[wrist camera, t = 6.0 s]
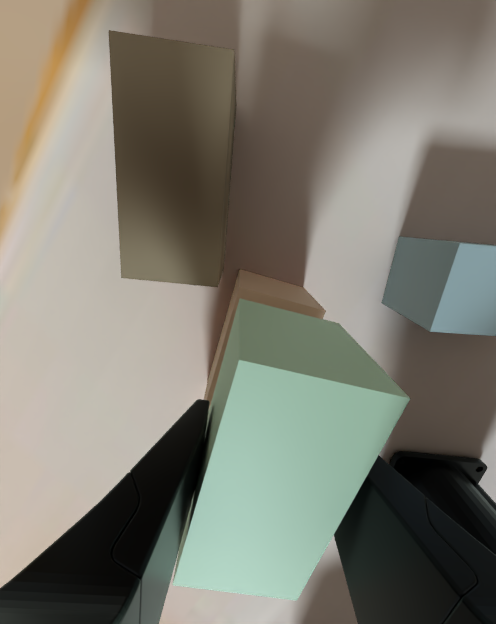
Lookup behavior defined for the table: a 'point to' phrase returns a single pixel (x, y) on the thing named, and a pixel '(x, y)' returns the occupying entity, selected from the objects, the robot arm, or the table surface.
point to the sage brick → (282, 452)
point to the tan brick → (263, 293)
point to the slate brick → (444, 285)
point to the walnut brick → (172, 156)
